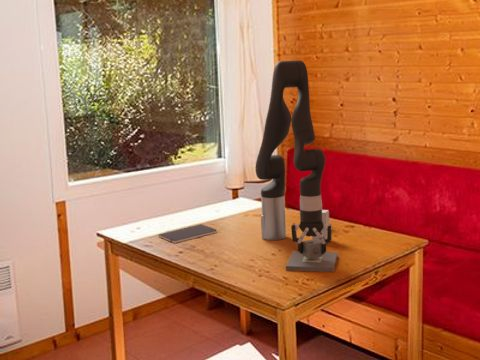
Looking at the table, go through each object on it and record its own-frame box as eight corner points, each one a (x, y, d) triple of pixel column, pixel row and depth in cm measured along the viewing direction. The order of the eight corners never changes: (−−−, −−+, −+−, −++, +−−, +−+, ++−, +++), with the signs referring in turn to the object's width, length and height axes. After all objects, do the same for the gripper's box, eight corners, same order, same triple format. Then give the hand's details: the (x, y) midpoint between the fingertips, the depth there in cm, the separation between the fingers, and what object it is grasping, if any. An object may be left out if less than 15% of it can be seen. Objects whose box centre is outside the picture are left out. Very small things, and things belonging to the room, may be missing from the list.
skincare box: (330, 239, 236) (329, 210, 233) (326, 242, 232) (326, 212, 230) (315, 238, 238) (314, 209, 236) (311, 241, 234) (310, 211, 232)
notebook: (201, 227, 264) (158, 238, 252) (201, 224, 264) (158, 234, 251) (217, 233, 254) (174, 244, 242) (217, 229, 254) (173, 240, 241)
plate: (286, 270, 205) (285, 265, 204) (293, 254, 220) (293, 250, 220) (333, 272, 201) (333, 267, 201) (337, 256, 216) (337, 252, 216)
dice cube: (302, 255, 211) (302, 241, 210) (314, 252, 213) (314, 239, 212) (309, 259, 207) (309, 245, 206) (322, 256, 209) (321, 242, 208)
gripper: (288, 209, 205) (290, 256, 208) (330, 210, 201) (332, 257, 204) (291, 204, 212) (293, 249, 215) (333, 204, 208) (334, 250, 211)
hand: (312, 253), depth 210 cm, fingers closed on dice cube, 7 cm apart
